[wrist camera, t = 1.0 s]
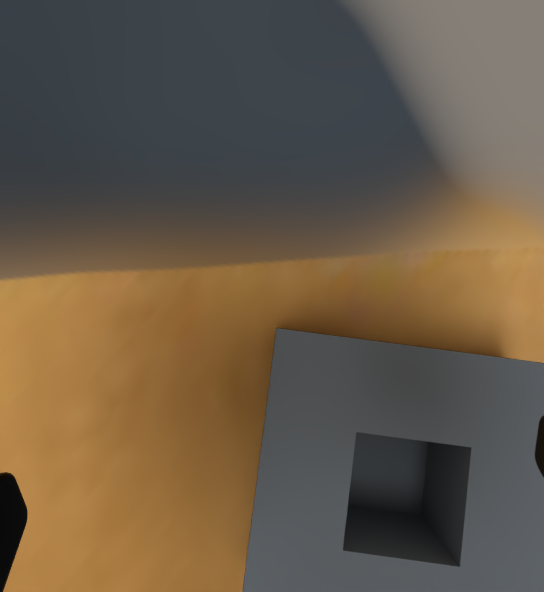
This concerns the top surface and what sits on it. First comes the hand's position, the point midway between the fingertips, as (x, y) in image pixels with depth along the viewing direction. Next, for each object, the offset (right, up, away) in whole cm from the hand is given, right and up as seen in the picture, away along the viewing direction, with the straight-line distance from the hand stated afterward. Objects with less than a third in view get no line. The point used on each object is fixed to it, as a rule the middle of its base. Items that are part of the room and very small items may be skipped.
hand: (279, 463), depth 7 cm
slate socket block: (+6, -6, +17) cm, 19 cm away
